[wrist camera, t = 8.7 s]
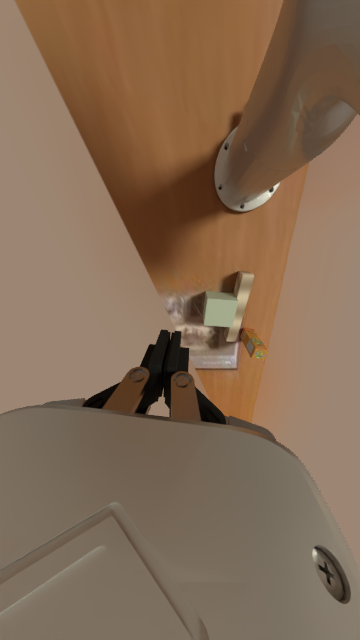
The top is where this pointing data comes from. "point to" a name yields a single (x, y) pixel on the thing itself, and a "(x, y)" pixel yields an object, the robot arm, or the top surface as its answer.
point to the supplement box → (253, 344)
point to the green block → (219, 309)
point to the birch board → (239, 303)
